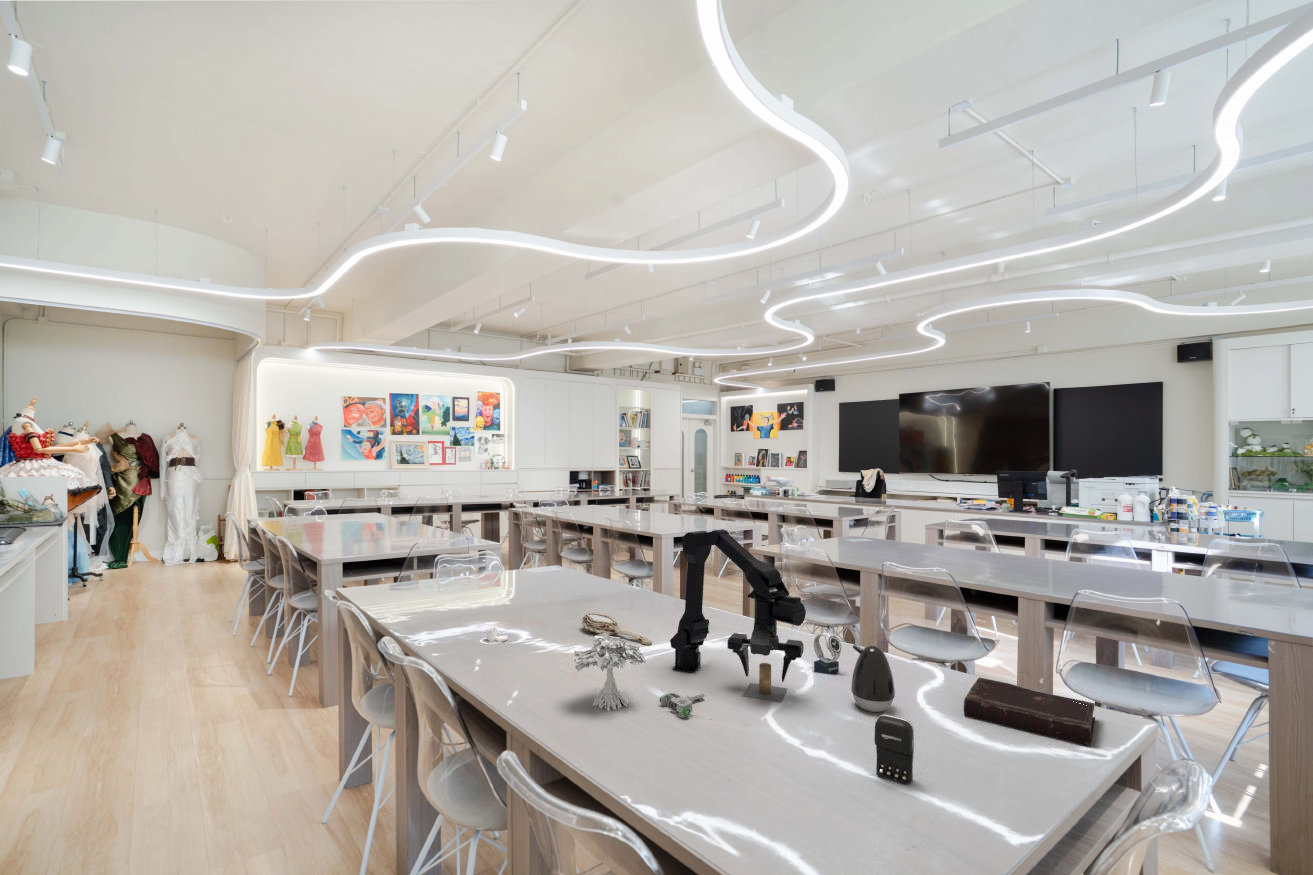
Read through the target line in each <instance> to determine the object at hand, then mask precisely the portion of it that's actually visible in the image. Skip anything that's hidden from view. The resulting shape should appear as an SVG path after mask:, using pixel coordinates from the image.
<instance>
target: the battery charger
mask: <svg viewBox="0 0 1313 875" xmlns="http://www.w3.org/2000/svg"><path fill="white" fill-rule="evenodd" d="M874 745H875V747H876V748H875V749H876V751H875V752H876V768H875V769H876V775H878V776H879V777H881V778H883V779H886V780H890V781H893V782H897V783H901V784H905V785H908V784H910V783H911V782H912V781H913V780H914V759H915V758H914V757H915V756H914V755H915V754H914V753H915V729H914V725H913V723H912V722H911V721H910V720H908V719H905V718H902V717H898V716H895V715H890V714H881V715H879V716H878V718H877V719H876V721H875V724H874Z"/></svg>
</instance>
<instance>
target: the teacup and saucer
mask: <svg viewBox="0 0 1313 875" xmlns="http://www.w3.org/2000/svg"><path fill="white" fill-rule="evenodd" d="M483 633H484V636H485V637H482V638H481V639H479V643H480V644H485V645H495V644H501V643H502V642H505V641H507V640H508V638H509V636H508V635H504V634H503V635H498V634H497V633H498V628H496V627H490V628H487V629H485V630H484V632H483ZM486 633H487V634H486ZM497 635H498V636H497ZM484 640H488V642H485V641H484ZM495 641H496V642H495Z"/></svg>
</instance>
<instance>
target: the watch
mask: <svg viewBox="0 0 1313 875" xmlns="http://www.w3.org/2000/svg"><path fill="white" fill-rule="evenodd" d="M822 636H824V639H825V647H826V648H827V650H828V651H829V653H830V655H831V657H832V658H828V657H825V656H824V655H825V654H824V651H823V649H822V646H821V643H820V638H821V637H822ZM812 645H813V649H814V652H815V655H816V656H817V658H818V660H815V661H813V673H816V674H823V675H825V674H826V675H832V676H833V675H836V674H839V673H840V670H839V668H840V667H839V666H840V665H839V663H840V662H839V661H838V659H839V657H840V655H841V652H842V644H841V641H840V640H839V638H838V637H836V636H835V635H833V634H832V633H829V632H822V633H819V634H817V635H816V636H815V637H814V639H813V644H812Z"/></svg>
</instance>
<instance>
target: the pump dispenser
mask: <svg viewBox="0 0 1313 875" xmlns="http://www.w3.org/2000/svg"><path fill="white" fill-rule="evenodd" d="M852 649H853V650H854V651H856V652H857V653H858V654H859V656H858V658H857V660H856V663H855V665H854V669H853V671H852V677H851V685H850V686H851V687H850V692H851V694H852V696H853V700H854V701H855V703H856V704H857V706H859V707H860V708H861V709H863V710H865V711H868V712H872V713H881V712H884V711H887V710H888V709H890V707H891V706H892V703H893V701H894V699H895V698H896V696H895V695H896V690H895V689H896V688H895V682H894V676H893V672H892V669H891V666H890V663H889V661H888V660H889V659H888V657H887V656H886V654H885V653H884V650H882V649H881V648H880V647H878V646H877V645H871V644H870V645H867V646H866V647H864V648H862V647H860V646H858V644H857V645H856V644H853V645H852Z"/></svg>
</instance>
